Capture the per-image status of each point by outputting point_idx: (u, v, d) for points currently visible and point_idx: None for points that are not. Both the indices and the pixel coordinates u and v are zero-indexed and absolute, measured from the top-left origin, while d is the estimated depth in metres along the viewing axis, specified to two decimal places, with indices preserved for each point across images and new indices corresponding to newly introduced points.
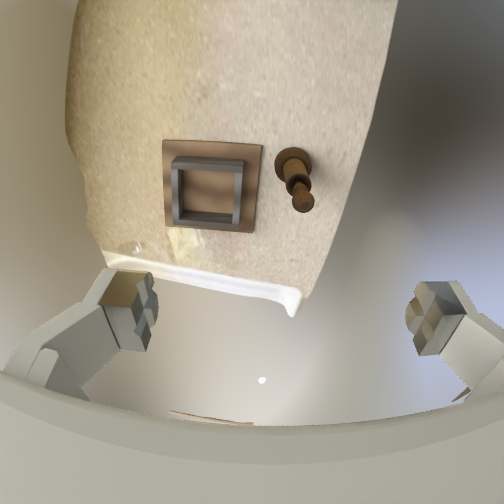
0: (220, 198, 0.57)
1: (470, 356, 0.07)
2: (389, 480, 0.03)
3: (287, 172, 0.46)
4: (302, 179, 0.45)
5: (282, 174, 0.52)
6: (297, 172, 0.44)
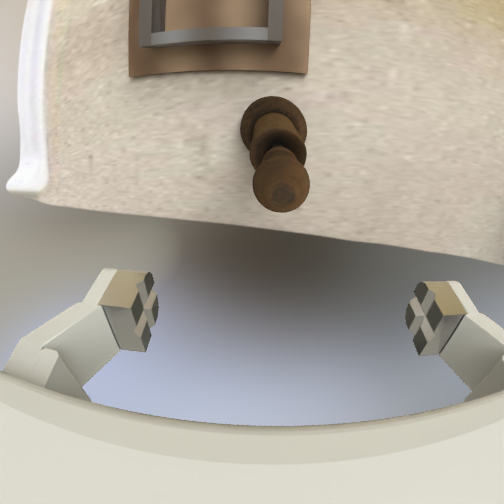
0: (195, 9, 0.21)
1: (470, 356, 0.07)
2: (389, 480, 0.03)
3: (290, 125, 0.22)
4: None
5: (261, 112, 0.26)
6: None
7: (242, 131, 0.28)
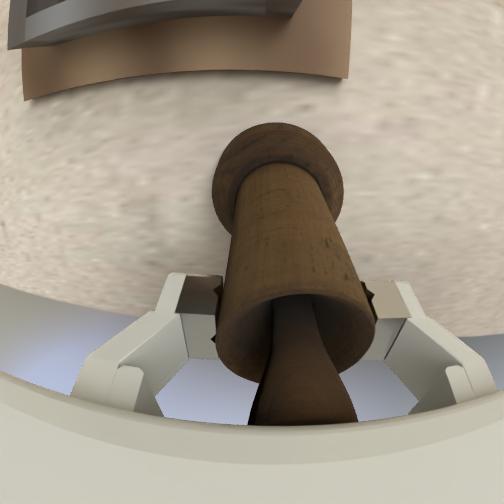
0: None
1: (415, 364, 0.07)
2: (389, 480, 0.03)
3: (328, 231, 0.08)
4: None
5: (253, 163, 0.13)
6: None
7: (215, 199, 0.14)
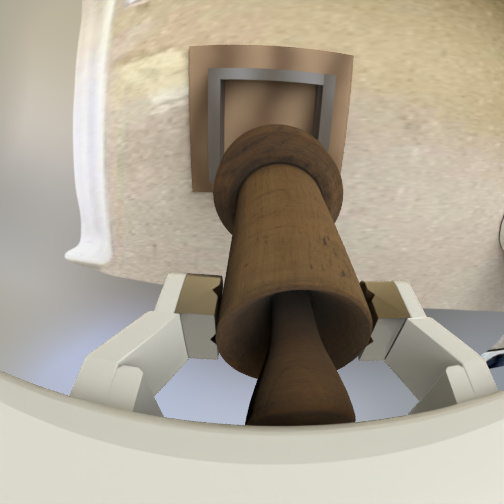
0: None
1: (416, 364, 0.07)
2: (389, 480, 0.03)
3: (327, 230, 0.09)
4: None
5: (253, 164, 0.13)
6: None
7: (217, 200, 0.15)
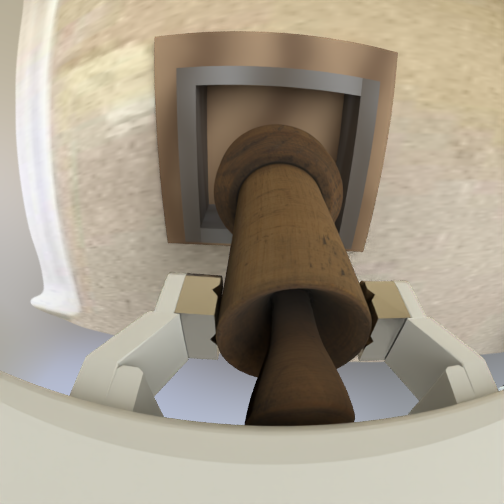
0: None
1: (415, 364, 0.07)
2: (389, 480, 0.03)
3: (326, 229, 0.09)
4: None
5: (253, 164, 0.13)
6: None
7: (217, 199, 0.15)
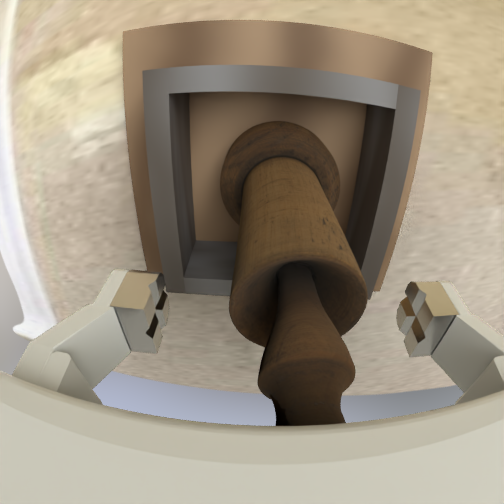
0: None
1: (462, 358, 0.07)
2: (389, 480, 0.03)
3: (325, 213, 0.10)
4: None
5: (257, 157, 0.14)
6: None
7: (223, 191, 0.16)
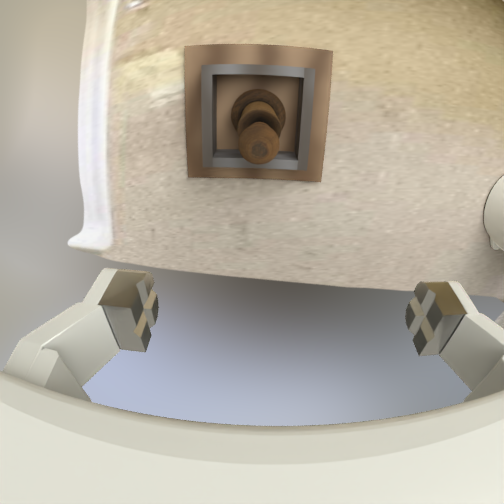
0: None
1: (470, 356, 0.07)
2: (389, 480, 0.03)
3: (269, 109, 0.27)
4: None
5: (247, 101, 0.31)
6: None
7: (232, 117, 0.33)
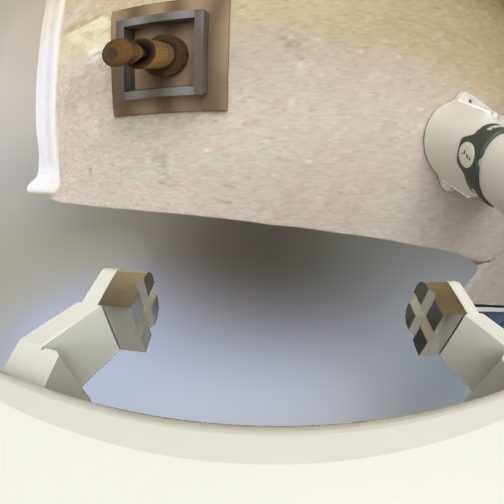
0: None
1: (470, 356, 0.07)
2: (389, 480, 0.03)
3: (155, 40, 0.28)
4: (148, 57, 0.28)
5: None
6: (157, 48, 0.27)
7: None
